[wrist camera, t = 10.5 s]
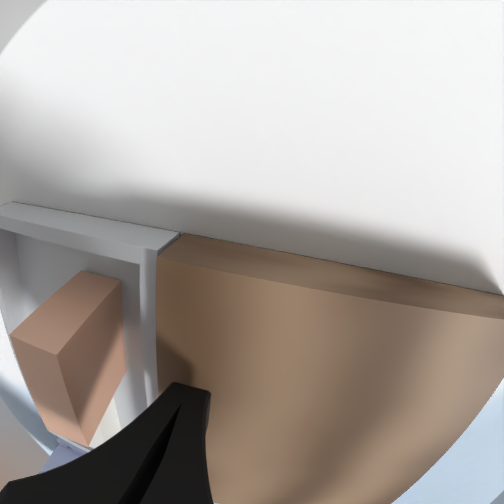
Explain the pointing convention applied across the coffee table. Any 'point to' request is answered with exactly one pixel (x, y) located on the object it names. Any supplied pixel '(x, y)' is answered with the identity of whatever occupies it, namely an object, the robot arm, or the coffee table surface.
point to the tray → (94, 261)
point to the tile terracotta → (74, 354)
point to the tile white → (106, 426)
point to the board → (321, 369)
